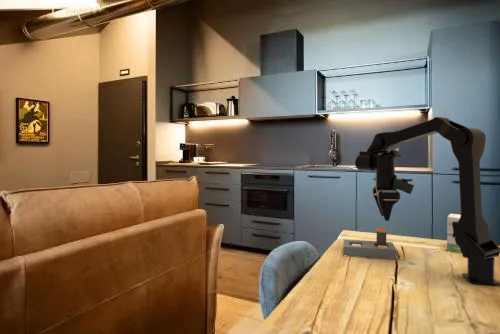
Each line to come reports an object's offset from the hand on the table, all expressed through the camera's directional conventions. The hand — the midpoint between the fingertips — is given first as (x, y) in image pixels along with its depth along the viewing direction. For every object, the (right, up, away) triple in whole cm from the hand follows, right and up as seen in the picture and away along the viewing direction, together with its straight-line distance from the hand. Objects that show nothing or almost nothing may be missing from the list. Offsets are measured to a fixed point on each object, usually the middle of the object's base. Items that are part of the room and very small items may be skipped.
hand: (384, 218), depth 110 cm
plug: (-1, -11, 0) cm, 11 cm away
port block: (-5, -12, +1) cm, 13 cm away
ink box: (+27, -12, +6) cm, 30 cm away
